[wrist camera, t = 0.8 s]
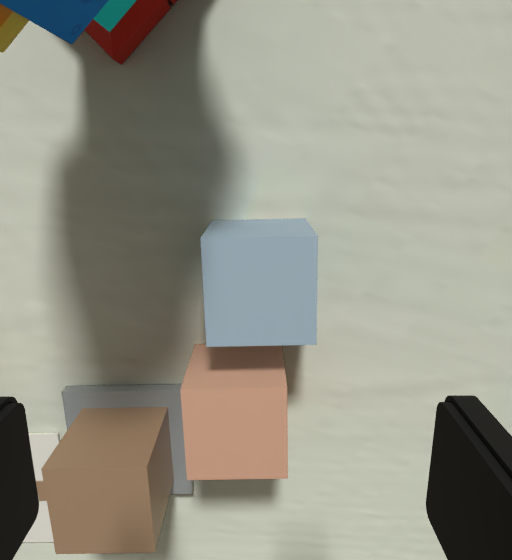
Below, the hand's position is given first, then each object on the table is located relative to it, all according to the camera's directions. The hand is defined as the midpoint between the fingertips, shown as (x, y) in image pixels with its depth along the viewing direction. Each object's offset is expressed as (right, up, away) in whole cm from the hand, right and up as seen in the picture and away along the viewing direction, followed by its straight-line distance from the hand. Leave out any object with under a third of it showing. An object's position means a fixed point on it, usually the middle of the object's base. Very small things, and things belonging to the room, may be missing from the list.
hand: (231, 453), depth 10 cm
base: (-8, -7, +21) cm, 24 cm away
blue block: (+1, +5, +18) cm, 19 cm away
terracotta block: (0, -3, +20) cm, 21 cm away
